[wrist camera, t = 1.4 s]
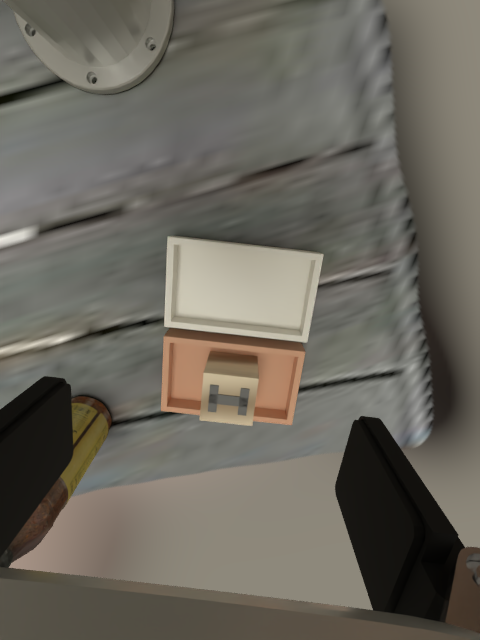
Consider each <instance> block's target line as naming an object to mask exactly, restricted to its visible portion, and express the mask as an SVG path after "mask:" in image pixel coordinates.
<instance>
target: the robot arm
mask: <svg viewBox="0 0 480 640" xmlns="http://www.w3.org/2000/svg"><path fill="white" fill-rule="evenodd" d="M2 1H4V2H5V3H6V4H7V5H8V6H9V7H10V8H11V9H12V10H13V12H14V15H15V18H16V21H17V24H18V26H19V28H20V30H21V32H22V34H23V36H24V38H25V40H26V42H27V43H28V45H29V46H30V48H31V49H32V51H33V52H34V54H35V55H36V56H37V57H38V58H39V59H40V60H41V62H42V63H43V64H44V65H45V66H46V67H47V68H48V69H49V70H51V71H52V72H53V73H54V74H56V75H57V76H58V77H59V78H61V79H62V80H64V81H65V82H67V83H68V84H70V85H72V86H73V87H76V88H78V89H81V90H83V91H86V92H91V93H97V94H115V93H118V92H122V91H125V90H128V89H130V88H132V87H134V86H135V85H137V84H139V83H140V82H142V81H143V80H144V79H145V78H146V77H147V76H148V75H149V74H151V72H152V71H153V70H154V68H155V67H156V66H157V64H158V63H159V62H160V60H161V58H162V56H163V54H164V52H165V50H166V48H167V45H168V42H169V38H170V35H171V31H172V26H173V17H174V0H2ZM152 47H156V48H155V49H154V50H153V51H151V49H152ZM95 80H97V82H96V83H95V84H94V82H95ZM73 451H74V449H73V426H72V402H71V386H70V384H67V383H66V381H65V379H63V378H56V377H48V376H44V377H43V378H41V379H40V380H38V381H37V382H36V383H35V384H33V385H32V386H31V387H29V388H28V389H27V390H25V391H24V392H23V393H21V394H20V395H19V396H18V397H16V398H15V399H14V400H12V401H11V402H10V403H8V404H7V405H6V406H4V407H3V408H2V409H1V410H0V558H1V556H2V555H3V553H4V552H5V551H6V549H7V548H8V547H9V545H10V544H11V543H12V541H13V540H14V538H15V537H16V536H17V534H18V533H19V532H20V530H21V529H22V528H23V526H24V525H25V523H26V522H27V521H28V519H29V518H30V517H31V515H32V514H33V513H34V511H35V510H36V508H37V507H38V506H39V504H40V503H41V502H42V500H43V499H44V498H45V496H46V495H47V493H48V492H49V491H50V489H51V488H52V487H53V485H54V484H55V483H56V481H57V480H58V478H59V477H60V476H61V474H62V473H63V472H64V470H65V469H66V468H67V466H68V465H69V463H70V462H71V459H72V457H73ZM335 490H336V497H337V500H338V503H339V506H340V509H341V512H342V515H343V518H344V521H345V524H346V528H347V531H348V534H349V537H350V540H351V543H352V546H353V549H354V552H355V555H356V558H357V562H358V565H359V568H360V571H361V574H362V577H363V580H364V583H365V586H366V589H367V592H368V596H369V599H370V602H371V605H372V608H373V610H366V609H359V608H352V607H345V606H337V605H329V604H321V603H313V602H304V601H296V600H288V599H279V598H271V597H263V596H254V595H246V594H238V593H229V592H220V591H212V590H204V589H194V588H186V587H178V586H169V585H159V584H151V583H142V582H133V581H125V580H116V579H107V578H98V577H88V576H80V575H70V574H61V573H51V572H43V571H33V570H24V569H14V568H6V567H0V640H480V548H477V547H466V548H465V547H464V545H463V544H462V542H461V541H460V539H459V538H458V534H457V532H456V531H455V529H454V528H453V526H452V525H451V524H450V522H449V520H448V519H447V517H446V516H445V514H444V513H443V511H442V510H441V508H440V507H439V505H438V504H437V502H436V501H435V499H434V498H433V496H432V495H431V493H430V492H429V490H428V489H427V488H426V486H425V485H424V483H423V482H422V480H421V479H420V477H419V476H418V474H417V473H416V471H415V470H414V469H413V467H412V465H411V464H410V462H409V461H408V459H407V458H406V456H405V455H404V453H403V452H402V450H401V449H400V447H399V446H398V444H397V443H396V441H395V440H394V438H393V437H392V435H391V434H390V432H389V431H388V430H387V428H386V427H385V425H384V424H383V422H382V421H381V420H380V419H379V418H373V417H365V416H361V417H360V418H359V420H354V422H353V424H352V428H351V431H350V435H349V438H348V442H347V445H346V449H345V452H344V457H343V460H342V463H341V467H340V470H339V474H338V477H337V481H336V485H335Z"/></svg>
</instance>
